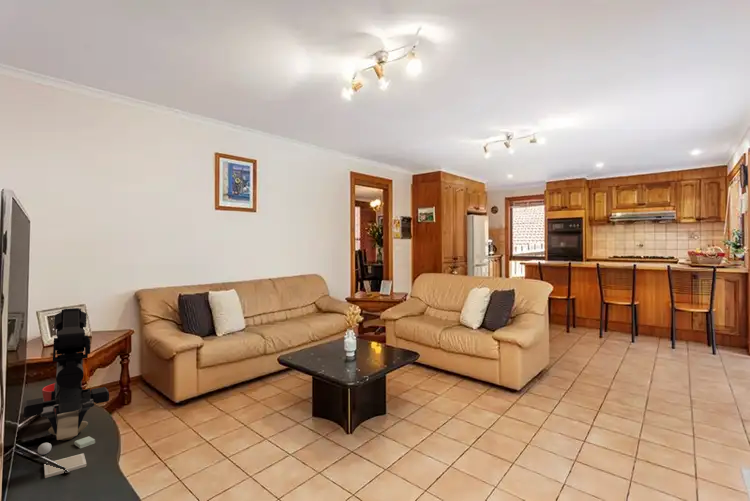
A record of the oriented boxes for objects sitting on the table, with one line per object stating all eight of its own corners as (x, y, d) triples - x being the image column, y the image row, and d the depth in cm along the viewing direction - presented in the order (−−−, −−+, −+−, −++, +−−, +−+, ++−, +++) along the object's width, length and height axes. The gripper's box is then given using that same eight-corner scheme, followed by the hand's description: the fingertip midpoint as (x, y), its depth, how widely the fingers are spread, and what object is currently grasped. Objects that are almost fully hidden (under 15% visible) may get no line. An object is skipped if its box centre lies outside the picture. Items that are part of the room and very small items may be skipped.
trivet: (43, 466, 108) (44, 463, 108) (83, 455, 114) (83, 452, 114) (44, 478, 103) (45, 474, 103) (86, 466, 109) (86, 463, 109)
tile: (74, 445, 120) (74, 441, 120) (88, 440, 123) (89, 436, 123) (80, 449, 118) (80, 444, 118) (94, 444, 121) (95, 439, 121)
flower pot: (39, 410, 141) (40, 384, 141) (76, 403, 149) (77, 378, 149) (42, 421, 134) (43, 393, 133) (81, 412, 141) (82, 386, 141)
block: (56, 433, 109) (56, 414, 108) (75, 429, 112) (76, 410, 112) (56, 440, 105) (57, 420, 105) (77, 435, 108) (78, 416, 108)
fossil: (92, 418, 126) (54, 420, 119) (91, 431, 124) (53, 435, 116) (81, 429, 129) (44, 433, 122) (80, 442, 127) (42, 447, 120)
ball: (37, 453, 114) (37, 442, 114) (51, 449, 116) (51, 439, 116) (37, 457, 112) (37, 447, 112) (51, 454, 114) (52, 443, 114)
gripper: (24, 392, 96) (22, 453, 96) (113, 378, 109) (110, 432, 109) (24, 379, 104) (22, 436, 104) (107, 367, 117) (104, 418, 117)
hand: (66, 430), depth 108 cm, fingers closed on block, 4 cm apart
